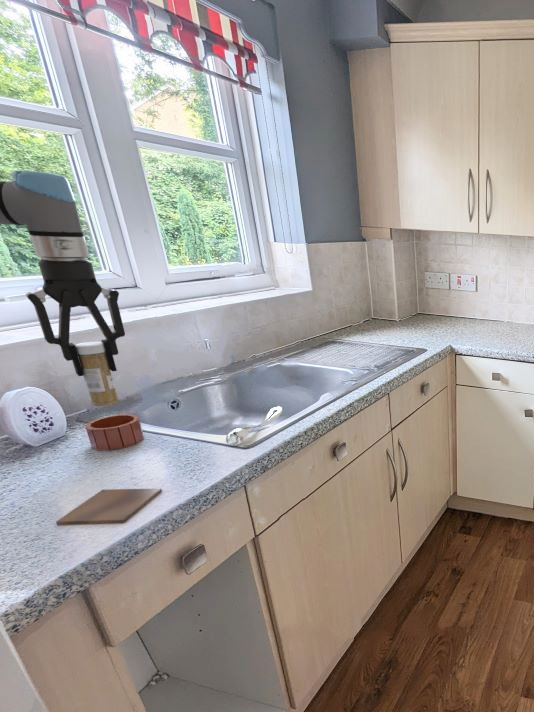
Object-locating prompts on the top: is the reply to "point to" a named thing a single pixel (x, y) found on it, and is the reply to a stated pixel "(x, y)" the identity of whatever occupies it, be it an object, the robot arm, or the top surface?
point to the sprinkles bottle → (97, 373)
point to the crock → (114, 432)
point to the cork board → (110, 506)
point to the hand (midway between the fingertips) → (96, 371)
